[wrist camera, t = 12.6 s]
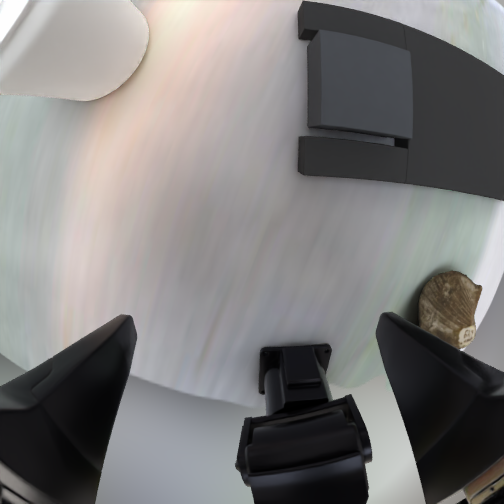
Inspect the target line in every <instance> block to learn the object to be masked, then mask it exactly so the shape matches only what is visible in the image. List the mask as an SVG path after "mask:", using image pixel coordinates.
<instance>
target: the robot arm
mask: <svg viewBox="0 0 504 504" xmlns="http://www.w3.org/2000/svg"><path fill="white" fill-rule="evenodd" d="M376 338H377V342H378V345H379V349H380V353H381V356H382V360H383V364H384V368H385V371H386V373H387V376H388V379H389V381H390V384H391V387H392V390H393V392H394V395H395V398H396V401H397V404H398V407H399V410H400V412H401V415H402V418H403V421H404V425H405V428H406V431H407V434H408V437H409V440H410V444H411V447H412V451H413V454H414V458H415V461H416V465H417V469H418V472H419V476H420V480H421V484H422V488H423V493H424V497H425V502H426V504H439V503H441V502H442V501H445V500H446V499H448V498H450V497H452V496H454V495H456V494H457V493H459V492H461V491H464V494H465V496H466V498H465V499H463V500H462V501H460V502H458V503H457V504H504V372H502V371H500V370H498V369H496V368H494V367H492V366H489V365H487V364H485V363H483V362H481V361H479V360H477V359H475V358H474V357H472V356H470V355H468V354H466V353H465V352H463V351H460V350H459V349H458V348H456V347H454V346H452V345H451V344H449V343H447V342H445V341H443V340H442V339H440V338H438V337H436V336H434V335H433V334H431V333H429V332H427V331H426V330H424V329H422V328H420V327H418V326H417V325H415V324H413V323H411V322H409V321H408V320H406V319H404V318H402V317H400V316H399V315H397V314H395V313H393V312H384V313H382V314H381V316H380V319H379V322H378V325H377V329H376ZM136 341H137V332H136V329H135V325H134V321H133V318H132V316H130V315H119V316H117V317H116V318H114V319H113V320H111V321H109V322H108V323H106V324H104V325H103V326H101V327H100V328H98V329H96V330H95V331H93V332H92V333H90V334H88V335H87V336H85V337H84V338H82V339H80V340H79V341H77V342H75V343H74V344H72V345H71V346H69V347H68V348H66V349H64V350H63V351H61V352H60V353H58V354H56V355H55V356H53V358H50V359H48V360H47V361H45V362H44V363H42V364H40V365H39V366H37V367H36V368H34V369H32V370H30V371H28V372H26V373H25V374H23V375H21V376H19V377H17V378H15V379H13V380H12V381H9V382H8V383H6V384H4V385H2V386H0V504H95V501H96V496H97V490H98V486H99V482H100V477H101V473H102V472H101V471H102V468H103V463H104V459H105V455H106V451H107V447H108V444H109V440H110V436H111V432H112V428H113V425H114V422H115V418H116V415H117V411H118V408H119V404H120V401H121V398H122V395H123V392H124V389H125V386H126V382H127V379H128V376H129V373H130V368H131V364H132V359H133V354H134V350H135V345H136ZM326 349H327V350H326ZM265 352H267V353H265ZM331 352H332V349H331V346H330V345H327V344H326V345H311V346H293V347H265V348H262V349H261V350H260V366H259V393H260V394H262V395H265V401H266V416H261V417H254V418H252V417H248V418H245V420H244V426H242V432H241V438H240V443H239V449H238V454H237V461H236V463H235V467H236V469H237V470H238V471H239V472H240V473H241V476H242V479H243V481H244V483H245V484H246V486H248V487H251V490H252V494H253V498H254V504H366V503H367V500H368V497H369V495H368V489H369V486H368V480H367V474H366V468H365V464H366V463H369V462H371V461H372V449H371V443H370V439H369V435H368V431H367V429H366V426H365V423H364V421H363V419H362V417H361V414H360V412H359V410H358V408H357V406H356V404H355V401H354V399H353V397H352V395H351V394H350V395H346V396H345V397H343V398H340V399H336V400H333V399H332V395H331V392H330V388H329V385H328V381H327V378H326V371H327V368H328V364H329V360H330V356H331Z"/></svg>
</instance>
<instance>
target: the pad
mask: <svg viewBox="0 0 504 504" xmlns="http://www.w3.org/2000/svg"><path fill="white" fill-rule="evenodd" d="M307 59H308V124H307V126H308V128H319V129H329V130H339V131H347V132H355V133H362V134H369V135H375V136H381V137H389V138H405V139H412V135H413V85H412V67H411V55H410V51H407V50H404V49H401V48H398V47H395V46H392V45H388V44H385V43H381V42H378V41H374V40H370V39H366V38H362V37H358V36H353V35H348V34H343V33H338V32H333V31H327V30H319V31H318V33H317V34H316V35H315V37H314V38H313V40H312V41H311V42H310V44H309V45H308V47H307Z"/></svg>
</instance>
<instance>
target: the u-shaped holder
mask: <svg viewBox="0 0 504 504" xmlns="http://www.w3.org/2000/svg"><path fill="white" fill-rule="evenodd" d="M319 30H327V31H333V32H338V33H343V34H348V35H353V36H358V37H362V38H366V39H370V40H374V41H378V42H381V43H385V44H388V45H392V46H395V47H398V48H401V49H404V50H407V51H410V55H411V67H412V85H413V135H412V139H405V138H395V147H394V146H388V145H382V144H375V143H368V142H361V141H353V140H344V139H335V138H324V137H311V136H300V137H299V154H298V172H300V173H301V174H303V175H308V176H327V177H342V178H355V179H367V180H377V181H387V182H396V183H404V184H413V185H420V186H427V187H434V188H440V189H446V190H452V191H458V192H464V193H469V194H474V195H479V196H484V197H489V198H494V199H498V200H503V201H504V75H503V74H501V73H500V72H498V71H497V70H495V69H493V68H492V67H490V66H489V65H487V64H486V63H484V62H482V61H481V60H479V59H477V58H475V57H474V56H472V55H470V54H468V53H467V52H465V51H463V50H461V49H459V48H457V47H455V46H453V45H451V44H449V43H447V42H445V41H443V40H441V39H438V38H436V37H434V36H432V35H429V34H427V33H425V32H422V31H420V30H417V29H415V28H412V27H409V26H407V25H403V24H402V23H399V22H396V21H393V20H390V19H387V18H383V17H380V16H377V15H373V14H369V13H366V12H362V11H358V10H354V9H349V8H345V7H340V6H335V5H329V4H323V3H317V2H310V1H303V2H302V4H301V6H300V8H299V11H298V33H299V39H306V40H313V38H314V37H315V35H316V34H317V33H318V31H319Z"/></svg>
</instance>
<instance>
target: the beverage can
mask: <svg viewBox="0 0 504 504" xmlns="http://www.w3.org/2000/svg"><path fill="white" fill-rule="evenodd" d="M148 40H149V27H148V23H147V20H146V18H145V17H144V15H143V14H142V13H141V12H140V11H139V10H138V9H137V8H136V6H135V5H134V4H133V3H132V2H131V1H130V0H0V95H24V96H39V97H50V98H60V99H69V100H77V101H91V100H95V99H98V98H101V97H103V96H105V95H107V94H109V93H111V92H113V91H114V90H115V89H117V88H118V87H119V86H121V85H122V84H123V83H124V82H125V81H126V80H127V79H128V78H129V77H130V76H131V75H132V74H133V72H134V71H135V70H136V68H137V67H138V65H139V64H140V62H141V60H142V58H143V56H144V54H145V51H146V48H147V45H148Z"/></svg>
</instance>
